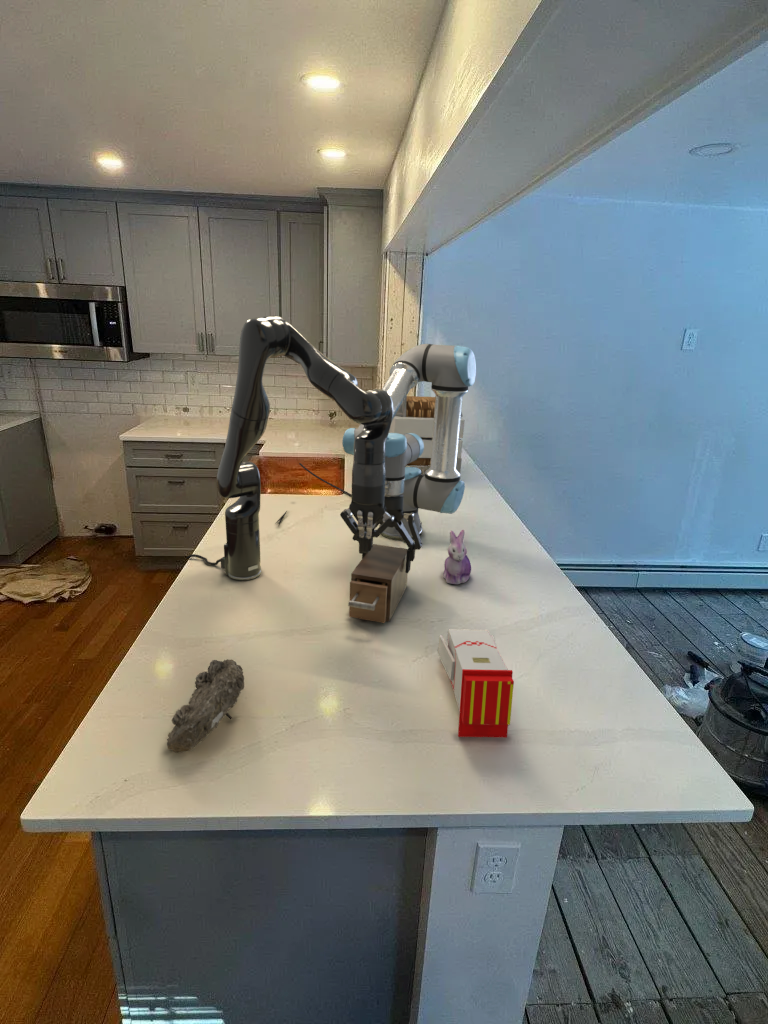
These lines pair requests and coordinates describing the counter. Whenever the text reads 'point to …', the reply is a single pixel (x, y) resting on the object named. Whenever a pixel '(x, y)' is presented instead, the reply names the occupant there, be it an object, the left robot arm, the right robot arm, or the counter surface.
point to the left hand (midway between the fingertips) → (366, 551)
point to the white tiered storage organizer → (421, 426)
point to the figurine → (457, 560)
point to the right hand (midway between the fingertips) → (385, 567)
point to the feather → (281, 519)
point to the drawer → (368, 600)
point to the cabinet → (385, 572)
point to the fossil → (206, 705)
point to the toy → (478, 682)
